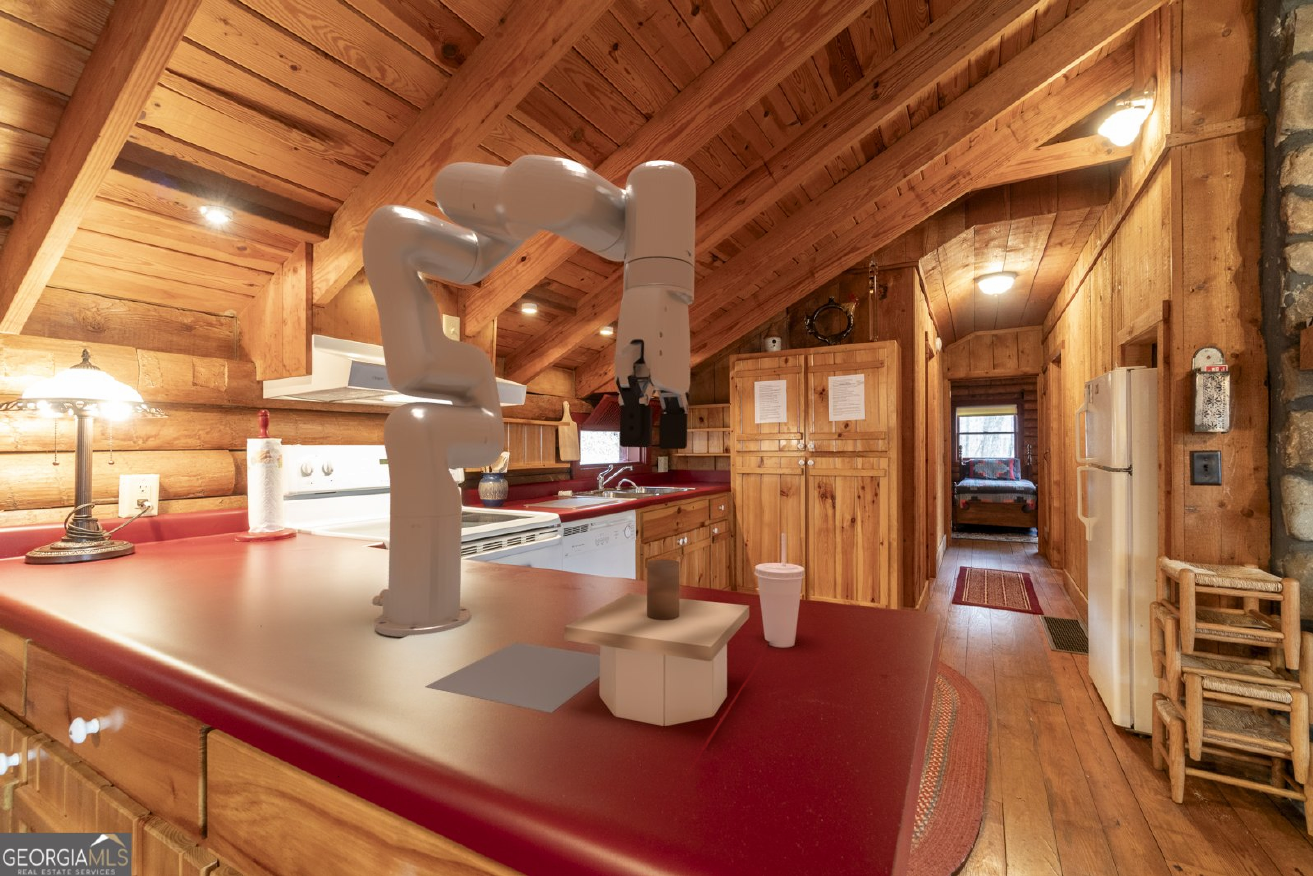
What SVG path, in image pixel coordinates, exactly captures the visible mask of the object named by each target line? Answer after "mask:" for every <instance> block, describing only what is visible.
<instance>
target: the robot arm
mask: <svg viewBox="0 0 1313 876" xmlns="http://www.w3.org/2000/svg"><path fill="white" fill-rule="evenodd" d="M432 186H433V187H432V191H433V196H434V200H435V203H436V205H437V207H438V209H439V210H440V212H441V213H442V214H443V216H445V217H446V218H447V219H449V220H450V221H451V222H452V223H451V222H449V221H446V220H444V219H441V218H440V217H437V216H435V215H432V214H430V213H427V212H425V211H424V210H423V211H422V210H420V209H417V208H413V207H409V206H405V205H400V204H386V205H383V206H380V207H378V208H376V209H375V210H374V211H373V212H372V213H371V214H370V216H369V218H368V220H367V222H366V226H365V228H364V232H363V238H362V249H361V251H362V253H361V254H362V262H363V263H362V264H363V268H364V272H365V276H366V279H367V280H366V281H367V282H368V285H369V287H370V291H371V293H372V295H373V298H374V302H375V304H376V308H377V313H378V319H379V320H378V322H379V327H380V328H379V329H380V335H381V342H382V343H381V344H382V348H383V349H382V350H383V356H384V365H385V368H386V369H385V370H386V374H387V378H388V381H389V383H390V385H391V386H390V387H391V388H393V389H394V390H395V391H396V392H397V393H398V394H401V395H404V396H409V397H413V398H414V397H415V398H420V399H429V400H439V401H449V402H451V404H450V403H440V402H430V401H414V402H408V403H403V404H401V405H399V406H397V407H395V408H394V409H393V410H392V411H391V412H390V413H389V415H388V416H387V418H386V420H385V423H384V426H383V443H384V450H385V455H386V459H387V460H386V461H387V465H388V466H387V467H388V475H389V541H388V542H389V545H388V547H389V551H388V554H389V555H388V588H387V589H386V588H384V589H383V590H381V591H380V592H379V594H378V595H374V597H373V598H372V601H371V603H372V604H373V606H378V607H382V615H381V616H378V618H377V619H375V623H374V630H375V631H376V632H377V633H379V635H384V636H389V637H398V638H406V637H409V636H420V635H428V634H429V635H430V634H435V633H436V634H437V633H441V632H446V631H449V630H454V629H456V628H459V627H462V626H464V625H466V624H468V623H469V622H470V621H471V619H472V611H471V610H470V609H469V608H467V607H464V606H461V588H462V587H461V582H462V581H461V579H462V578H461V577H462V576H461V572H462V531H463V530H462V522H463V518H462V517H463V510H462V509H463V503H462V502H463V501H462V495H461V491H460V489H459V487H458V485H457V481H456V480H455V478H454V477H453V475H452V473H451V471H450V469H478V468H486V467H489V466H492V465H493V464H495V463H496V462H497V461H498V460H499V458H501V455H502V453H503V451H504V448H505V447H504V446H505V441H506V440H505V439H506V435H505V434H506V432H505V424H504V417H503V413H502V405H501V400H500V396H499V395H500V394H499V389H498V384H497V378H496V373H495V369H494V365H493V363H492V362H491V359H490V357H489V355H488V354H486V352H485V351H484V350H483V349H482V348H480V347H479V346H477V345H474V344H472V343H469V342H465V341H460V340H456V339H455V340H454V339H452V338H449V337H448V336H447V335H446V333H445V332H444V329H443V325H442V319H441V312H440V307H439V306H438V303H437V301H436V299H435V297H434V295H433V294H432V292H431V290H430V288H428V286H427V285H426V283H425V282H424V281H423V280H422V279H421V278H420V276H419V273H421V274H424V275H428V276H432V277H435V278H438V279H440V280H444V281H447V282H449V283H450V282H451V283H454V284H457V285H462V286H469V285H475V284H476V283H478V282H480V281H482V280H483V279H484V278H486V277H487V276H489V274H491V273H492V272H493V271H495V269H497V267H498V266H500V265H501V264H502V263H504V262H505V261H506V260H507V259H508V258H509V257H511V256H512V255H513V254H514V253H515V252H516V251H517V250H519V249H520V248H521V247H522V246H523V245H524V244H525V243H526V242H527V240H530V239H532V238H533V237H535V236H537V235H538V234H539V233H540V232H541V231H545V232H548V233H551V234H554V235H556V236H558V237H560V238H563V239H565V240H567V241H569V242H572V243H574V244H575V245H577V246H580V247H581V248H584V249H586V250H587V251H589V252H591V253H594V254H596V255H598V256H600V257H602V258H604V259H606V260H609V261H612V262H623V282H622V283H623V284H622V285H623V288H622V290H623V291H622V292H623V294H622V299H621V302H620V308H619V313H618V322H617V331H616V341H615V344H616V345H615V354H614V357H613V363H614V382H615V383H616V386H617V389H618V393H619V395H618V404H619V406H620V411H619V412H620V414H619V415H620V416H619V425H620V426H619V445H620V446H621V447H622V448H650V447H651V446H652V444H653V443H652V441H653V405H649V402H650V400H651V397H652V396H654V395H655V394H656V393H657V396H658V398H659V401H660V402H659V403H660V406H661V408H662V413H659V428H658V429H659V431H658V432H659V434H658V437H659V439H658V440H659V441H658V446H659V448H660V449H663V450H665V449H667V450H685V449H687V448H688V417H689V416H688V415H689V403H688V402H689V400H690V394H689V393H690V392H689V391H690V387H691V335H690V334H691V331H690V330H691V328H690V316H689V306H690V305H692V304H693V303H694V302H695V298H694V297H695V261H696V260H695V257H696V254H695V252H696V251H695V250H696V249H695V247H696V205H697V204H696V203H697V200H696V197H697V192H696V187H697V186H696V181H695V178H694V175H693V174H692V173H691V171H690V170H689V169H688V168H687V167H685V166H684V165H682V164H680V163H677V162H674V161H672V160H671V161H670V160H659V159H658V160H650V161H645V162H643V163H641V164H639V165H637V166H635V167H634V168H633V169H632V170H631V171H630V173H629V174H628V176H627V179H626V183H625V188H620V187H618V186H617V185H615V184H613V183H612V182H611V181H610V180H608V179H606V178H605V177H604V176H602V175H600V174H599V173H597V172H595V171H594V170H592V169H591V168H589V167H587V166H586V165H584V164H582V163H580V162H578V161H574V160H572V159H568V158H563V157H557V156H548V155H539V154H538V155H537V154H525V155H521V156H520V157H518V158H517V159H516V160H514V161H513V162H512V163H510V164H509V166H502V165H501V166H500V165H494V164H487V163H477V162H470V161H468V162H467V161H461V162H460V161H459V162H453V163H450V164H448V165H446V166H444V167H443V168H442V169H440V171H439V172H438V173H437V175H436V177H435V179H434V181H433V185H432ZM453 223H454V224H453ZM418 272H419V273H418Z"/></svg>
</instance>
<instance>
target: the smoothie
mask: <svg viewBox="0 0 1313 876" xmlns="http://www.w3.org/2000/svg"><path fill="white" fill-rule="evenodd" d="M754 575H755V576H757V585H758V594H759V599H760V600H759V601H760V609H761V616H762V626H763V634H764V640H766V641H767V642H768V643H767V644H768V646H771V647H774V648H790V647H793V646H795V644H796V643H795V642H796V636H797V625H798V618H799V608H800V600H801V592H802V582H803V578H805V576H806V574H805V568H804V567H803V566H801V565H798V564H793V563H787V534H786V533H781V562H765V563H760V564H757V565H755V566H754Z"/></svg>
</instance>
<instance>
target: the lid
mask: <svg viewBox="0 0 1313 876" xmlns="http://www.w3.org/2000/svg"><path fill="white" fill-rule="evenodd" d="M749 618H750V605H746V604H745V605H744V604H737V603H736V604H735V603H726V602H718V601H717V602H714V601H705V600H696V599H686V598H680V562H679V561H677V560H674V559H673V560H672V559H653V560H648V561H647V562H646V594H638V593H627V594H625V595H622V596H621V597H619V598H617V599H615V600H614V601H611V602H609V603H607V604H605V605H603V606H602V607H600V608H598V609H596V610H593V611H592V612H590V613H588V614H586V615H584V616H583V617H580V618H579V619H577V620H574V621H573V622H571V623H569V624H567V625H565V626H563V628H564V629H563V631H564V632H563V641H570V642H575V643H583V644H589V645H590V644H591V645H595V646H597V645H598V646H600V645H602V646H609V647H615V648H622V649H629V650H636V651H643V652H649V653H656V654H663V655H670V656H677V657H683V658H690V659H697V660H704V661H712V659H713V658H714V657H715V656H716V655H717V654H718V653H719V651H720V650H721V649H722V648H723V647H724V646H725V645H726V643H727V644H728V643H729V641H730V640H731V639H732V638H733V637H734V635H735V634H736V633H737V632H738V631H739V630H740V629H741V627H742V626H744V624H745V623H746V621H748V619H749Z"/></svg>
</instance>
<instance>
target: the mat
mask: <svg viewBox="0 0 1313 876" xmlns="http://www.w3.org/2000/svg"><path fill="white" fill-rule="evenodd" d="M598 678H599V679H600V654H595V653H588V652H583V651H575V650H571V649H569V650H568V649H563V648H558V647H557V648H556V647H550V646H543V645H537V644H530V643H525V642H524V643H523V642H519V641H518V642H517V641H515V642H512V643H511V644H509V645H507V646H504V647H503V648H500V649H499V650H497V651H495V652H492V653H491V654H489V655H487V656H485V657H482V658H480V659H479V660H476V661H474V662H472V663H470V664H468V665H466V666H464V667H462V668H460V669H458V670H456V671H453V672H451V673H449V674H447V675H446V676H444V677H442V678H440V679H437V680H435V681H434V682H431V683H429V684H427V685H425V686H424V687H425V688H428V689H433V690H438V691H442V692H446V693H448V692H449V693H452V694H456V695H463V696H466V697H471V698H475V699H481V700H486V701H490V702H496V703H500V704H505V705H511V706H514V707H519V708H524V709H530V710H534V711H539V712H544V713H549V714H553V712H555V711H556V710H558V709H559V708H560V707H561V706H563V705H564V704H566V702H568V701H570V700H571V699H572V698H573V697H575V696H576V695H578V693H580V692H581V691H582V690H584V689H585V688H587V687H588V686H589V685H590V684H592V683H594V681H595V680H596V681H597V679H598Z"/></svg>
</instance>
